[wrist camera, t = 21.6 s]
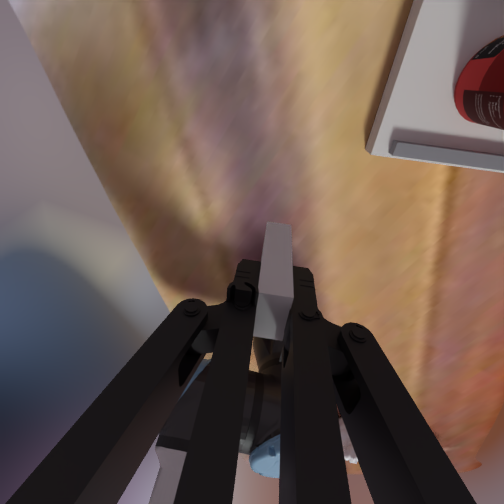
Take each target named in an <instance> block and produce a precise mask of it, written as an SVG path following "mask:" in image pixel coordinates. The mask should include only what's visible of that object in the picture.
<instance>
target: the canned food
mask: <svg viewBox="0 0 504 504" xmlns="http://www.w3.org/2000/svg"><path fill="white" fill-rule="evenodd" d="M454 102H455V106H456V109H457V110H458V112H459V114H460V115H461V116H462V117H463V118H464V119H465V120H467V121H469V122H472V123H477V124H481V125H485V126H489V127H493V128H497V129H501V130H504V35H503V36H501V37H499V38H497V39H495V40H493V41H492V42H490V43H489V44H487V45H486V46H484V47H483V48H482V49H480V50H479V51H478V52H477V53H476V54H475V55H474V56H473V57H472V58H471V59H470V60H469V61H468V63H467V64H466V65H465V67H464V68H463V70H462V72H461V74H460V76H459V78H458V80H457V83H456V86H455V91H454Z"/></svg>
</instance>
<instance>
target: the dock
mask: <svg viewBox="0 0 504 504" xmlns="http://www.w3.org/2000/svg"><path fill="white" fill-rule="evenodd" d="M503 35H504V0H414V1H413V4H412V7H411V10H410V13H409V16H408V19H407V22H406V25H405V28H404V31H403V34H402V38H401V41H400V44H399V47H398V50H397V53H396V56H395V59H394V62H393V65H392V68H391V71H390V74H389V77H388V80H387V83H386V87H385V90H384V93H383V96H382V99H381V102H380V105H379V108H378V111H377V114H376V117H375V120H374V123H373V126H372V129H371V133H370V136H369V139H368V142H367V145H366V148H365V150H366V151H367V152H368V153H370V154H371V155H377V156H384V157H392V158H399V159H406V160H414V161H421V162H428V163H435V164H443V165H450V166H457V167H465V168H472V169H479V170H486V171H494V172H501V173H504V130H501V129H497V128H493V127H489V126H485V125H481V124H477V123H472V122H469V121H467V120H465V119H464V118H463V117H462V116H461V115H460V114H459V112H458V110H457V109H456V106H455V102H454V91H455V86H456V83H457V80H458V78H459V76H460V74H461V72H462V70H463V68H464V67H465V65H466V64H467V63H468V61H469V60H470V59H471V58H472V57H473V56H474V55H475V54H476V53H477V52H478V51H479V50H480V49H482V48H483V47H484V46H486V45H487V44H489V43H490V42H492V41H493V40H495V39H497V38H499V37H501V36H503Z"/></svg>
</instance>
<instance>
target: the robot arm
mask: <svg viewBox="0 0 504 504" xmlns="http://www.w3.org/2000/svg"><path fill="white" fill-rule="evenodd" d="M253 336H254V339H253ZM252 340H253V349H254V353H255V357H256V361H257V365H258V369H259V373H258V372H254V371H250V370H249V364H250V356H251V348H252ZM212 352H213V355H212V358H211V359H209V360H207V359H203V358H204V357H205V355H206V353H212ZM336 404H337V406H338V409H339V412H340V414H341V417H342V420H343V422H344V425H345V427H346V430H347V433H348V435H349V438H350V441H351V443H352V446H353V449H354V451H355V454H356V457H357V459H358V462H359V464H360V467H361V470H362V472H363V475H364V478H365V480H366V483H367V486H368V488H369V491H370V494H371V496H372V498H373V501H374V504H476V502H475V501H474V499H473V497H472V496H471V494H470V492H469V491H468V489H467V487H466V486H465V484H464V482H463V481H462V479H461V478H460V476H459V474H458V473H457V471H456V469H455V468H454V466H453V465H452V463H451V461H450V460H449V458H448V456H447V455H446V453H445V452H444V450H443V448H442V447H441V445H440V443H439V442H438V440H437V438H436V437H435V435H434V434H433V432H432V430H431V429H430V427H429V425H428V424H427V422H426V421H425V419H424V417H423V416H422V414H421V412H420V411H419V409H418V408H417V406H416V404H415V403H414V401H413V399H412V398H411V396H410V394H409V393H408V391H407V390H406V388H405V386H404V385H403V383H402V381H401V380H400V378H399V377H398V375H397V373H396V372H395V370H394V368H393V367H392V365H391V364H390V362H389V360H388V359H387V357H386V355H385V354H384V352H383V350H382V349H381V347H380V346H379V344H378V342H377V341H376V339H375V337H374V336H373V334H372V333H371V332H370V331H369V330H368V329H367V328H366V327H364V326H363V325H360V324H358V323H351V322H350V323H346V324H344V325H343V326H342V327H340V326H338V325H335V324H333V323H331V322H329V321H327V320H326V319H324V318H323V316H322V313H321V312H320V311H319V310H318V307H317V300H316V293H315V286H314V278H313V274H312V273H311V271H310V270H309V269H308V268H303V267H296V266H293V263H292V234H291V225H287V224H281V223H274V222H267V225H266V232H265V238H264V245H263V251H262V258H261V262H259V261H252V260H246V259H243V260H242V261H241V262H240V263H239V264H238V266H237V270H236V274H235V278H234V281H233V282H232V283H230V284H229V286H228V288H227V300H226V301H225V302H223V303H221V304H219V305H213V306H207V305H206V304H205V302H203V301H201V300H200V299H194V298H193V299H186V300H184V301H181V302H180V303H179V304H178V305H177V306H176V307H175V308H174V309H173V310H172V312H171V313H170V314H169V315H168V316H167V318H166V319H165V320H164V321H163V322H162V323H161V324H160V326H159V327H158V328H157V329H156V330H155V331H154V332H153V334H152V335H151V336H150V337H149V338H148V339H147V341H146V342H145V343H144V344H143V345H142V346H141V347H140V349H139V350H138V351H137V352H136V353H135V354H134V356H133V357H132V358H131V359H130V360H129V362H127V364H126V365H125V366H124V367H123V368H122V369H121V371H120V372H119V373H118V374H117V375H116V376H115V378H114V379H113V380H112V381H111V382H110V383H109V384H108V386H107V387H106V388H105V389H104V390H103V391H102V393H101V394H100V395H99V396H98V397H97V398H96V400H95V401H94V402H93V403H92V404H91V406H89V408H88V409H87V410H86V411H85V412H84V413H83V415H82V416H81V417H80V418H79V419H78V421H76V423H75V424H74V425H73V426H72V428H70V430H69V431H68V432H67V433H66V434H65V435H64V437H63V438H62V439H61V440H60V441H59V442H58V444H57V445H56V446H55V447H54V448H53V449H52V450H51V452H50V453H49V454H48V455H47V456H46V457H45V459H44V460H43V461H42V462H41V463H40V464H39V465H38V467H37V468H36V469H35V470H34V471H33V473H32V474H31V475H30V476H29V477H28V478H27V479H26V481H25V482H24V483H23V484H22V485H21V486H20V488H19V489H18V490H17V491H16V492H15V493H14V494H13V495H12V497H11V498H10V499H9V500H8V501H7V502H6V504H117V503H118V501H119V499H120V497H121V496H122V494H123V492H124V491H125V489H126V487H127V485H128V484H129V482H130V481H131V479H132V477H133V476H134V474H135V472H136V471H137V469H138V467H139V466H140V464H141V462H142V460H143V459H144V457H145V456H146V454H147V452H148V450H149V449H150V447H151V445H152V444H153V442H154V440H155V439H156V437H157V435H158V434H159V437H158V440H157V443H156V446H155V451H156V454H157V456H158V459H159V462H160V469H159V472H158V475H157V478H156V481H155V485H154V488H153V491H152V494H151V497H150V501H149V504H232V500H233V491H234V484H235V475H236V468H237V460H238V452H240V453H244V454H248V455H250V456H249V462H250V466H251V468H252V470H254V472H256V473H259V474H260V475H262V476H266V477H274V478H279V504H351V498H350V491H349V485H348V478H347V472H346V465H345V458H344V452H343V445H342V439H341V432H340V425H339V419H338V412H337V406H336Z"/></svg>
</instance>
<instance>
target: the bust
mask: <svg viewBox="0 0 504 504" xmlns="http://www.w3.org/2000/svg"><path fill="white" fill-rule="evenodd" d="M339 425H340V432H341V439H342V445H344V446H343V449H344V458H345V459H346V460H347V461H348V460H349V461H350V463H356V464H357V461H358V459H357V457H356V454H355V451H354V449H353V446H352V443H351V441H350V438H349V435H348V433H347V430H346V427H345V425H344V422H343V420H342V417H341V418H339Z"/></svg>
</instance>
